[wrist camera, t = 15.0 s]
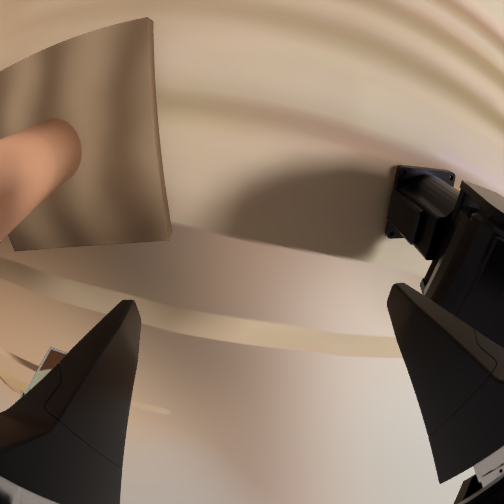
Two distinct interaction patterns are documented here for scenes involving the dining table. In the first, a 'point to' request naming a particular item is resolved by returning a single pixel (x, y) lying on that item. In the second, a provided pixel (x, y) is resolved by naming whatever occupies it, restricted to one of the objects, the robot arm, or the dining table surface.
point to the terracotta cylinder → (34, 168)
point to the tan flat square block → (94, 137)
